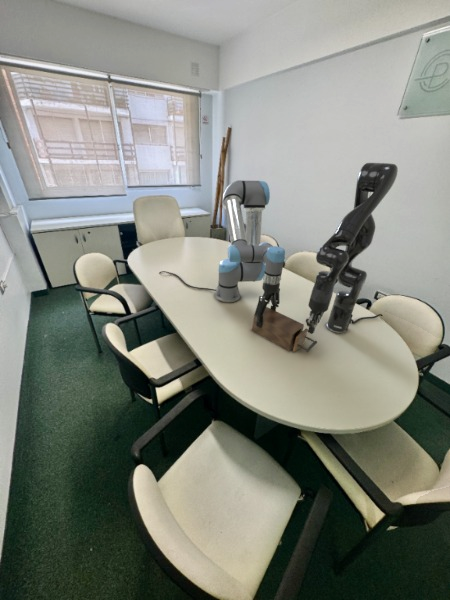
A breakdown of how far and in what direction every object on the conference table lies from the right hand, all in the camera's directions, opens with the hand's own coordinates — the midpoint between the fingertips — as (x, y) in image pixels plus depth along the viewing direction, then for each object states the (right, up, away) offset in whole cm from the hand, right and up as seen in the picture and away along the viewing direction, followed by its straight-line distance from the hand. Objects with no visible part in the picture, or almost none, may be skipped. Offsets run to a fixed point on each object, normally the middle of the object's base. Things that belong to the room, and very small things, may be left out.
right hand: (310, 332), depth 103 cm
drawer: (-8, -5, +11) cm, 14 cm away
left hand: (-17, +3, +16) cm, 23 cm away
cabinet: (-12, -4, +15) cm, 19 cm away
